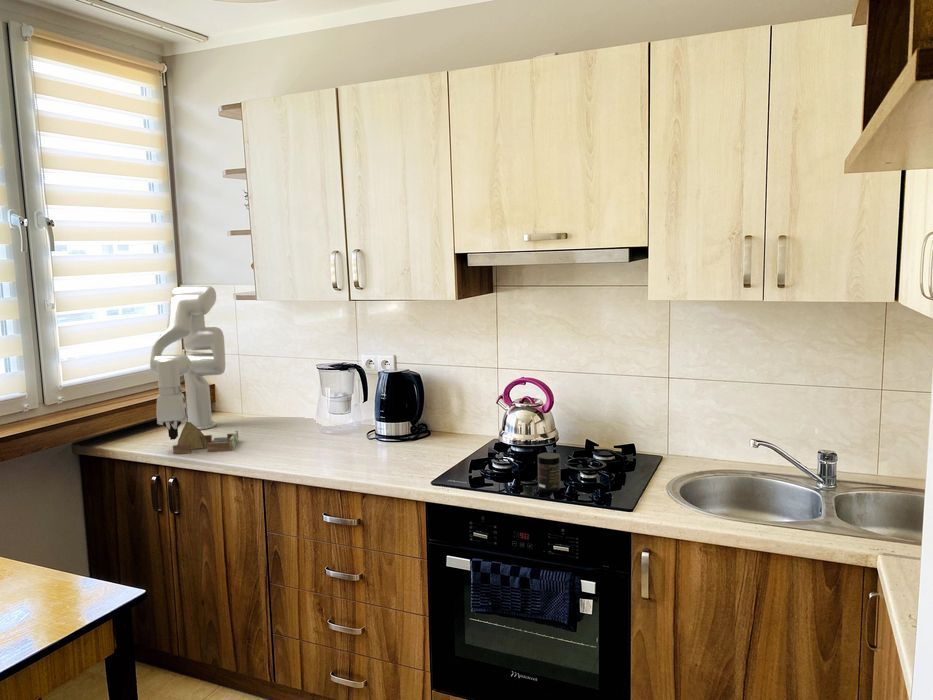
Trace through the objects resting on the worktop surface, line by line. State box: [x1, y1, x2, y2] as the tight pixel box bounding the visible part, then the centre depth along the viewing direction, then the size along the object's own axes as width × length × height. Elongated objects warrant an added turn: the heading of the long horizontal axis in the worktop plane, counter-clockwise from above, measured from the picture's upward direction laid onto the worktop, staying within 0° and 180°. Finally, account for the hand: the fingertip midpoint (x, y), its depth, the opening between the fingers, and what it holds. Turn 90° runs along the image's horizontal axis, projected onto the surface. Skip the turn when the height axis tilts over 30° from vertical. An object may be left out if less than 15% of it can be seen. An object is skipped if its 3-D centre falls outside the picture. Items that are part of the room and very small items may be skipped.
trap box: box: [172, 430, 239, 455], centre depth 273 cm, size 20×21×4 cm
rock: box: [177, 421, 208, 450], centre depth 269 cm, size 11×9×10 cm
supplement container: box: [537, 452, 561, 493], centre depth 213 cm, size 7×7×10 cm
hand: (173, 438), depth 268 cm, fingers closed
